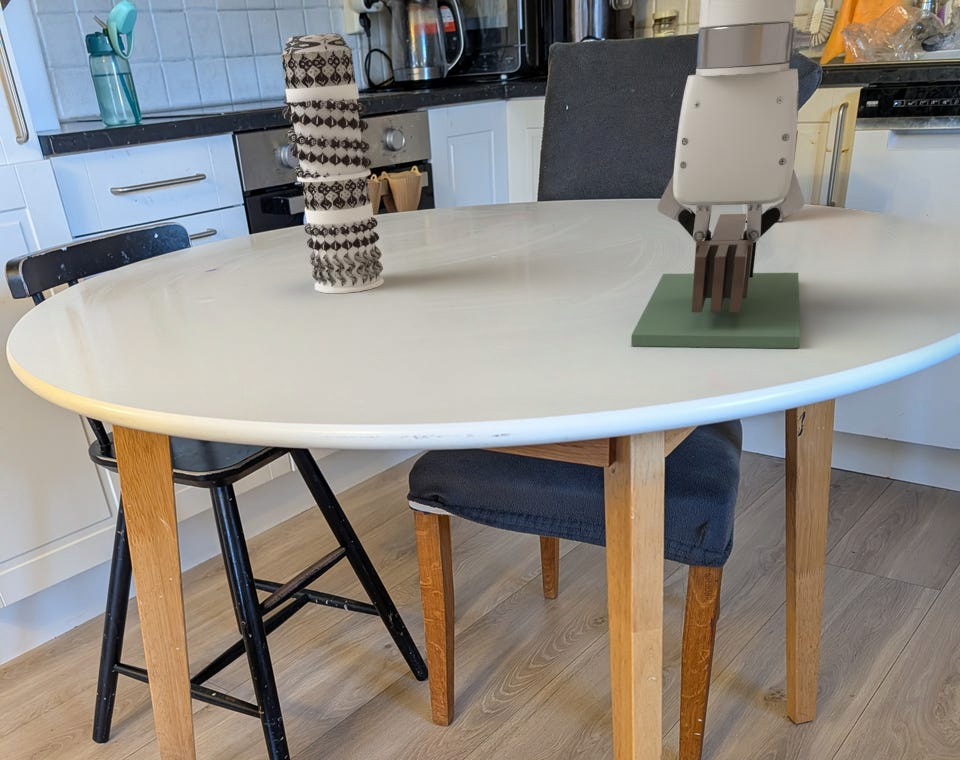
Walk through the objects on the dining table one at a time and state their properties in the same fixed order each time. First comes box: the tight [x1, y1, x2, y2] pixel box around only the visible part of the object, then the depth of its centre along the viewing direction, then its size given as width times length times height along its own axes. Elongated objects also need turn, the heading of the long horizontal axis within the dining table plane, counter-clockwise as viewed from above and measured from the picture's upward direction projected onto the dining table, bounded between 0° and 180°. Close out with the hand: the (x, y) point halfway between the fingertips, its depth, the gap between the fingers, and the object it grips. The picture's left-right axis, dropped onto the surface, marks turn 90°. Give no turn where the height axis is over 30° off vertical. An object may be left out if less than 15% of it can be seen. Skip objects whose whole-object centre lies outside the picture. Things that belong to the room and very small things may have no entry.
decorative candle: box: [279, 33, 385, 294], centre depth 99 cm, size 9×9×25 cm
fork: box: [691, 213, 753, 313], centre depth 82 cm, size 21×5×4 cm, turn 164°
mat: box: [630, 272, 801, 349], centre depth 84 cm, size 24×14×1 cm, turn 164°
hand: (722, 283), depth 82 cm, fingers closed on fork, 2 cm apart
